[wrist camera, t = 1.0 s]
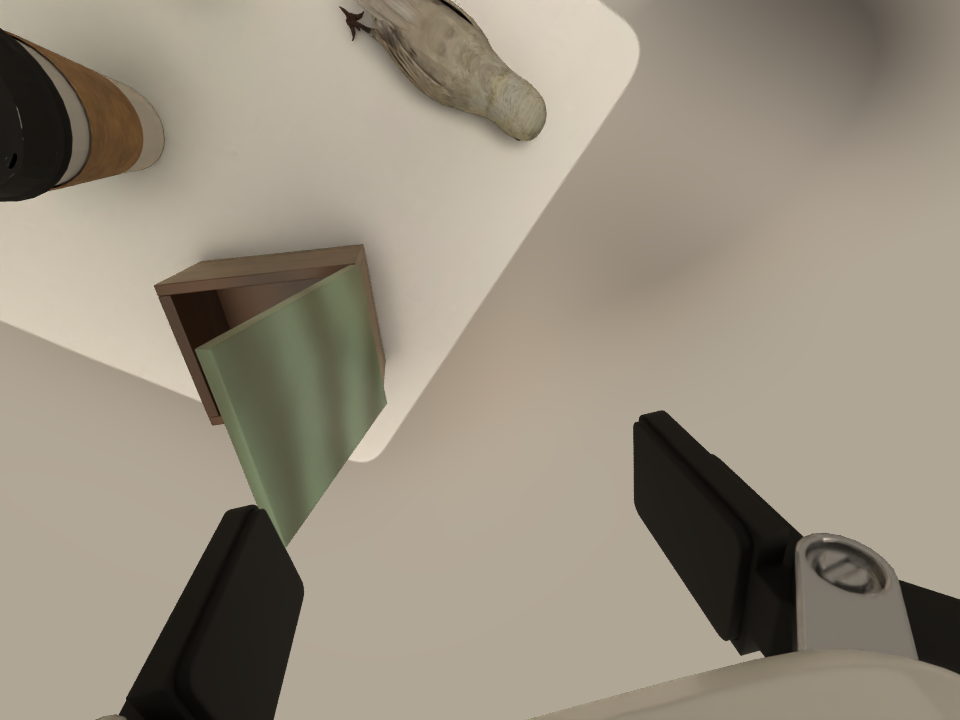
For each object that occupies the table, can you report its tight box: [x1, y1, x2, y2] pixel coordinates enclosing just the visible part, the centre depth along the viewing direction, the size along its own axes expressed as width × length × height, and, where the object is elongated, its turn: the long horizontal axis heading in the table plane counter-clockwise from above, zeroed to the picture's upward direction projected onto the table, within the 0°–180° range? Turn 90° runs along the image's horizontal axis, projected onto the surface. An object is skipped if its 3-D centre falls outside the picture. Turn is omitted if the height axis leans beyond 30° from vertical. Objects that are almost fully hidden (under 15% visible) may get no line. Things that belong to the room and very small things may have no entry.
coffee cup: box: [0, 28, 164, 202], centre depth 25 cm, size 8×8×15 cm
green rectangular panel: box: [195, 265, 387, 547], centre depth 27 cm, size 14×12×1 cm
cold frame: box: [154, 245, 386, 425], centre depth 36 cm, size 14×12×8 cm
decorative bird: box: [339, 0, 546, 141], centre depth 30 cm, size 5×16×7 cm, turn 59°
